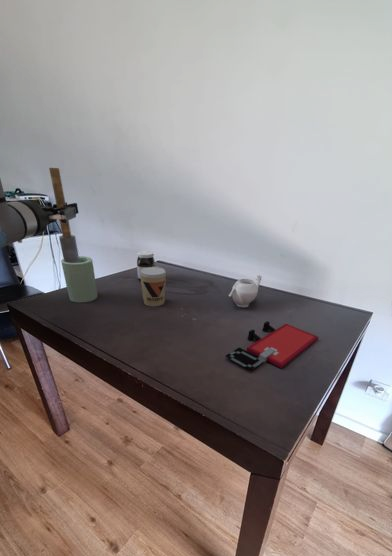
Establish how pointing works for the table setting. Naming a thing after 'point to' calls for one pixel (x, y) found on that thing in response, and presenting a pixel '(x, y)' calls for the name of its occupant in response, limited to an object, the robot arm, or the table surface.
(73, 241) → the bottle brush
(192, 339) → the table surface
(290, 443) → the table surface
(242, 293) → the teapot
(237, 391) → the table surface
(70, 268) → the green cylindrical holder
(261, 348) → the red board with handle
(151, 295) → the coffee cup
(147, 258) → the spread jar
